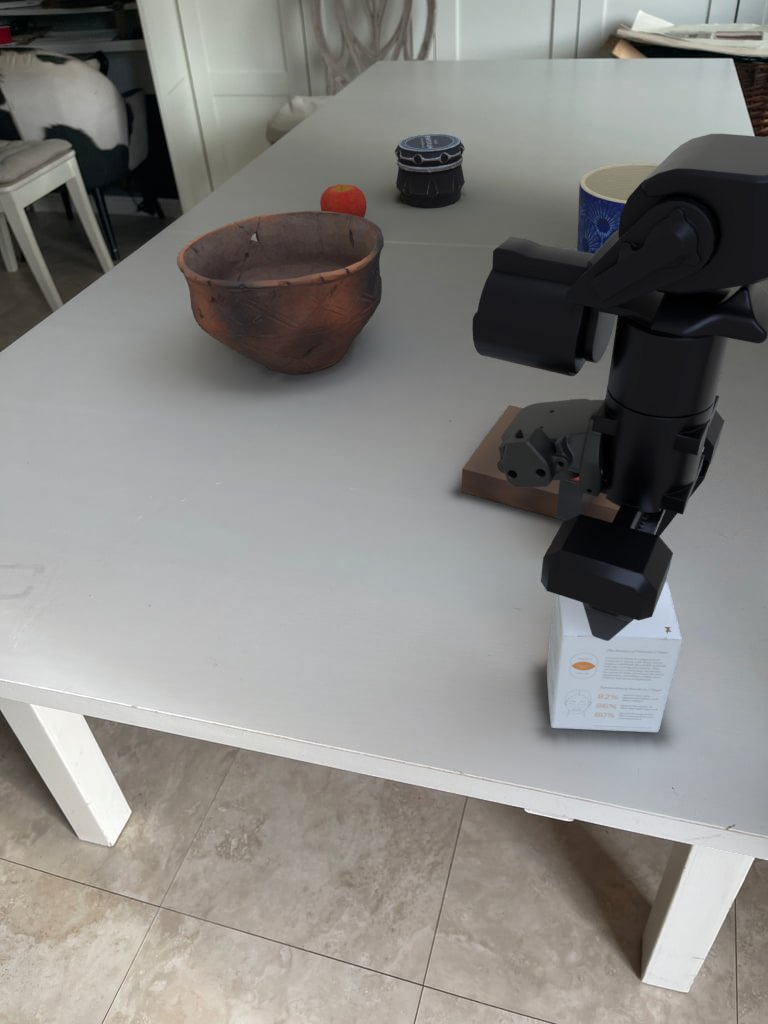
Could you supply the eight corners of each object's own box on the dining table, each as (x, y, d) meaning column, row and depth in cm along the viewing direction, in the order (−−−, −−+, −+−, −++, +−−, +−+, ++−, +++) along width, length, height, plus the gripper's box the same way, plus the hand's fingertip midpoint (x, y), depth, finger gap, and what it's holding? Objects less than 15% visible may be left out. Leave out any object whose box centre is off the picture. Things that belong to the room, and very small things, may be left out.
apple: (376, 228, 141) (374, 182, 136) (344, 242, 137) (340, 195, 132) (345, 218, 145) (342, 173, 140) (313, 232, 141) (309, 186, 136)
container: (385, 194, 154) (382, 139, 148) (444, 182, 158) (444, 128, 152) (415, 214, 145) (413, 156, 139) (477, 201, 149) (478, 144, 142)
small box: (647, 675, 64) (671, 579, 57) (659, 735, 59) (686, 640, 53) (544, 670, 64) (556, 576, 58) (548, 729, 60) (561, 634, 53)
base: (680, 468, 84) (686, 443, 82) (634, 582, 71) (639, 556, 69) (507, 427, 91) (509, 403, 89) (438, 524, 79) (438, 499, 77)
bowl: (272, 299, 120) (257, 196, 111) (420, 329, 111) (418, 219, 101) (163, 377, 104) (134, 264, 94) (326, 420, 94) (312, 299, 85)
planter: (705, 279, 118) (728, 171, 109) (665, 326, 108) (687, 211, 98) (596, 258, 126) (608, 156, 117) (549, 299, 116) (558, 191, 106)
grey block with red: (588, 459, 81) (594, 419, 78) (610, 464, 80) (616, 424, 77) (555, 517, 74) (560, 476, 71) (578, 524, 73) (584, 482, 70)
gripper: (572, 297, 54) (553, 483, 64) (456, 443, 41) (454, 645, 51) (749, 328, 49) (698, 522, 59) (678, 501, 37) (628, 710, 47)
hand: (621, 590), depth 54 cm, fingers open, 9 cm apart
